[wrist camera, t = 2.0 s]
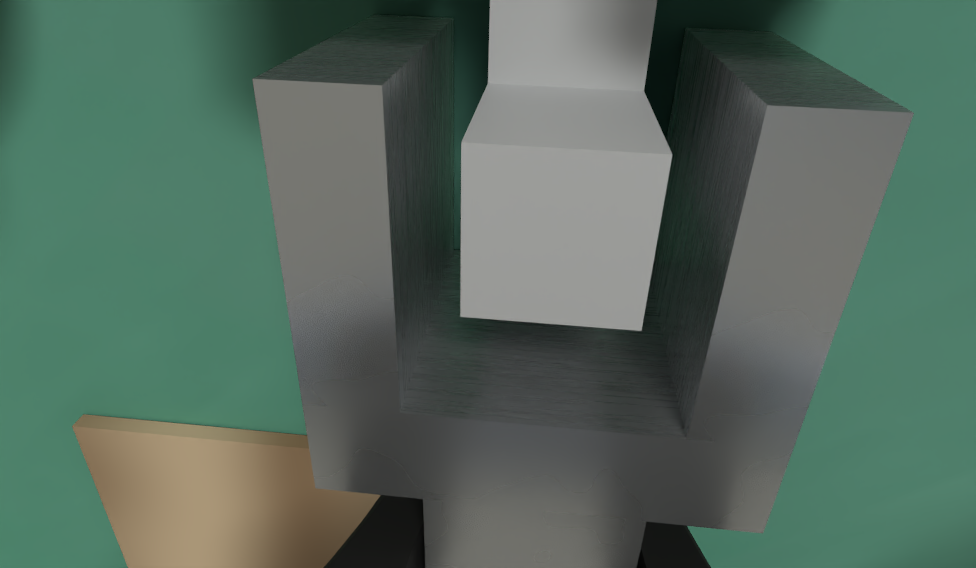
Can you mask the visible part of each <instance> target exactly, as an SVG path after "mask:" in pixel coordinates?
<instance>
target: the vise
mask: <svg viewBox="0 0 976 568" xmlns="http://www.w3.org/2000/svg"><path fill="white" fill-rule="evenodd" d="M656 5H657V0H490V21H489V60H488V84H487V86H486V89H485V91H484V93H483V95H482V98H481V100H480V102H479V104H478V106H477V109H476V111H475V113H474V115H473V118H472V120H471V122H470V124H469V126H468V129H467V131H466V133H465V135H464V138H463V140H462V142H461V291H460V317H469V318H482V319H494V320H507V321H520V322H533V323H545V324H558V325H571V326H584V327H596V328H609V329H622V330H635V331H642V325H643V319H644V314H645V308H646V302H647V297H648V291H649V285H650V279H651V274H652V268H653V262H654V257H655V251H656V245H657V240H658V234H659V228H660V223H661V217H662V211H663V206H664V200H665V194H666V189H667V183H668V177H669V172H670V166H671V160H672V152H671V150H670V148H669V146H668V144H667V141H666V139H665V137H664V135H663V132H662V130H661V128H660V126H659V123H658V121H657V119H656V117H655V115H654V112H653V110H652V108H651V106H650V103H649V101H648V99H647V97H646V95H645V92H644V88H645V81H646V74H647V67H648V60H649V53H650V47H651V40H652V33H653V26H654V19H655V12H656Z"/></svg>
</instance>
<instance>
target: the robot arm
mask: <svg viewBox="0 0 976 568" xmlns="http://www.w3.org/2000/svg"><path fill="white" fill-rule="evenodd" d="M323 568H425V543H424V515H423V499H417V498H407V497H397V496H387V495H381V496H380V497H379V498H378V500H377V501H376V502H375V504H374V505H373V507H372V508H371V509H370V511H369V512H368V514H367V515H366V516H365V518H364V519H363V520H362V522H361V523H360V524H359V525H358V527H357V528H356V529H355V530H354V531H353V533H352V534H351V535H350V536H349V538H348V539H347V540H346V541H345V543H344V544H343V545H342V546H341V548H340V549H339V550H338V551H337V552H336V554H335V555H334V556H333V557H332V558H331V559H330V561H329V562H328V563H327V564H326V565H325V566H324V567H323ZM636 568H711V567H710V565H709V564H708V562H707V560H706V559H705V557H704V555H703V554H702V552H701V550H700V548H699V547H698V545H697V543H696V541H695V540H694V538H693V536H692V534H691V533H690V531H689V529H688V527H687V526H686V525H676V524H666V523H656V522H646V527H645V531H644V536H643V540H642V545H641V549H640V554H639V558H638V563H637V567H636Z"/></svg>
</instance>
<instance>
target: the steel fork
mask: <svg viewBox="0 0 976 568" xmlns="http://www.w3.org/2000/svg"><path fill="white" fill-rule="evenodd" d="M252 80H253V86H254V93H255V99H256V106H257V112H258V119H259V125H260V132H261V138H262V145H263V151H264V158H265V164H266V171H267V177H268V184H269V190H270V197H271V203H272V210H273V216H274V223H275V229H276V236H277V242H278V249H279V255H280V262H281V268H282V275H283V281H284V288H285V294H286V301H287V307H288V314H289V320H290V327H291V333H292V340H293V346H294V353H295V359H296V366H297V372H298V379H299V385H300V392H301V398H302V405H303V411H304V418H305V424H306V431H307V437H308V444H309V450H310V456H311V463H312V469H313V476H314V482H315V488H317V489H327V490H337V491H347V492H357V493H367V494H377V495H387V496H397V497H407V498H417V499H423V515H424V543H425V568H636V567H637V563H638V558H639V554H640V549H641V545H642V540H643V536H644V531H645V527H646V522H656V523H666V524H676V525H686V526H696V527H706V528H716V529H726V530H736V531H745V532H755V533H763V532H764V529H765V526H766V523H767V521H768V518H769V515H770V512H771V509H772V507H773V504H774V501H775V498H776V496H777V493H778V490H779V487H780V484H781V482H782V479H783V476H784V473H785V470H786V468H787V465H788V462H789V459H790V457H791V454H792V451H793V448H794V445H795V443H796V440H797V437H798V434H799V431H800V429H801V426H802V423H803V420H804V418H805V415H806V412H807V409H808V406H809V404H810V401H811V398H812V395H813V392H814V390H815V387H816V384H817V381H818V379H819V376H820V373H821V370H822V367H823V365H824V362H825V359H826V356H827V353H828V351H829V348H830V345H831V342H832V340H833V337H834V334H835V331H836V328H837V326H838V323H839V320H840V317H841V314H842V312H843V309H844V306H845V303H846V301H847V298H848V295H849V292H850V289H851V287H852V284H853V281H854V278H855V275H856V273H857V270H858V267H859V264H860V262H861V259H862V256H863V253H864V250H865V248H866V245H867V242H868V239H869V236H870V234H871V231H872V228H873V225H874V223H875V220H876V217H877V214H878V211H879V209H880V206H881V203H882V200H883V197H884V195H885V192H886V189H887V186H888V184H889V181H890V178H891V175H892V172H893V170H894V167H895V164H896V161H897V158H898V156H899V153H900V150H901V147H902V145H903V142H904V139H905V136H906V133H907V131H908V128H909V125H910V122H911V119H912V117H913V114H914V113H913V112H912V111H910V110H908V109H906V108H905V107H903V106H901V105H899V104H898V103H896V102H894V101H892V100H891V99H889V98H887V97H885V96H884V95H882V94H880V93H878V92H877V91H875V90H873V89H871V88H869V87H868V86H866V85H864V84H862V83H861V82H859V81H857V80H855V79H854V78H852V77H850V76H848V75H847V74H845V73H843V72H841V71H840V70H838V69H836V68H834V67H833V66H831V65H829V64H827V63H826V62H824V61H822V60H820V59H819V58H817V57H815V56H813V55H812V54H810V53H808V52H806V51H805V50H803V49H801V48H799V47H798V46H796V45H794V44H792V43H791V42H789V41H787V40H785V39H784V38H782V37H780V36H778V35H776V34H775V33H773V32H769V31H746V30H723V29H700V28H685V33H684V39H683V45H682V51H681V57H680V63H679V69H678V75H677V81H676V87H675V93H674V98H673V104H672V110H671V116H670V122H669V128H668V134H667V140H666V141H667V144H668V146H669V148H670V150H671V152H672V160H671V166H670V172H669V177H668V183H667V189H666V194H665V200H664V206H663V211H662V217H661V223H660V228H659V234H658V240H657V245H656V251H655V257H654V262H653V268H652V274H651V279H650V285H649V291H648V297H647V302H646V308H645V314H644V319H643V325H642V331H635V330H622V329H609V328H596V327H584V326H571V325H558V324H545V323H533V322H520V321H507V320H494V319H482V318H469V317H460V291H461V251H460V250H454V18H443V17H420V16H397V15H372V16H370V17H368V18H366V19H364V20H362V21H361V22H359V23H357V24H355V25H353V26H351V27H349V28H347V29H345V30H344V31H342V32H340V33H338V34H336V35H334V36H332V37H330V38H328V39H327V40H325V41H323V42H321V43H319V44H317V45H315V46H313V47H311V48H310V49H308V50H306V51H304V52H302V53H300V54H298V55H296V56H294V57H293V58H291V59H289V60H287V61H285V62H283V63H281V64H279V65H277V66H276V67H274V68H272V69H270V70H268V71H266V72H264V73H262V74H261V75H259V76H257V77H255V78H253V79H252Z"/></svg>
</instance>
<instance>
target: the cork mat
mask: <svg viewBox="0 0 976 568" xmlns="http://www.w3.org/2000/svg"><path fill="white" fill-rule="evenodd" d="M72 427H73V429H74V432H75V434H76V437H77V440H78V442H79V445H80V447H81V450H82V452H83V455H84V457H85V460H86V462H87V465H88V467H89V470H90V472H91V475H92V477H93V480H94V482H95V485H96V488H97V490H98V493H99V495H100V498H101V500H102V503H103V505H104V508H105V510H106V513H107V515H108V518H109V520H110V523H111V525H112V528H113V531H114V533H115V536H116V538H117V541H118V543H119V546H120V548H121V551H122V553H123V556H124V558H125V561H126V563H127V566H128V568H323V567H324V566H325V565H326V564H327V563H328V562H329V561H330V559H331V558H332V557H333V556H334V555H335V554H336V552H337V551H338V550H339V549H340V548H341V546H342V545H343V544H344V543H345V541H346V540H347V539H348V538H349V536H350V535H351V534H352V533H353V531H354V530H355V529H356V528H357V527H358V525H359V524H360V523H361V522H362V520H363V519H364V518H365V516H366V515H367V514H368V512H369V511H370V509H371V508H372V507H373V505H374V504H375V502H376V501H377V500H378V498H379V497H380V496H381V495H377V494H367V493H357V492H347V491H337V490H327V489H317V488H315V482H314V476H313V469H312V463H311V456H310V450H309V444H308V437H307V435H297V434H286V433H275V432H265V431H254V430H243V429H233V428H222V427H212V426H201V425H190V424H180V423H169V422H158V421H148V420H137V419H127V418H116V417H105V416H95V415H84V414H83V416H82V417H81V418H80V419H79V420H78V421H77V422H76V423H75V424H74V425H73V426H72Z"/></svg>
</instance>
